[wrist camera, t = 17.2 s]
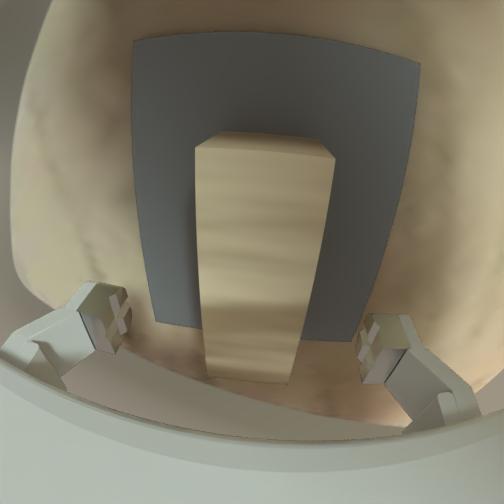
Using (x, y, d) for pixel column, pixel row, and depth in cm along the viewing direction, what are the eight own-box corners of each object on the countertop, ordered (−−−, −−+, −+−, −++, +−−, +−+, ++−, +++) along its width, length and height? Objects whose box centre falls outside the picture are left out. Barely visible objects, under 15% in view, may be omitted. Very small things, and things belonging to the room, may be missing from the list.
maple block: (287, 384, 15) (335, 158, 8) (207, 375, 15) (195, 147, 9) (288, 328, 18) (317, 139, 12) (220, 321, 19) (221, 131, 13)
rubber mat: (137, 42, 11) (133, 40, 10) (415, 64, 10) (420, 63, 10) (157, 317, 20) (155, 321, 19) (349, 336, 19) (351, 341, 19)
